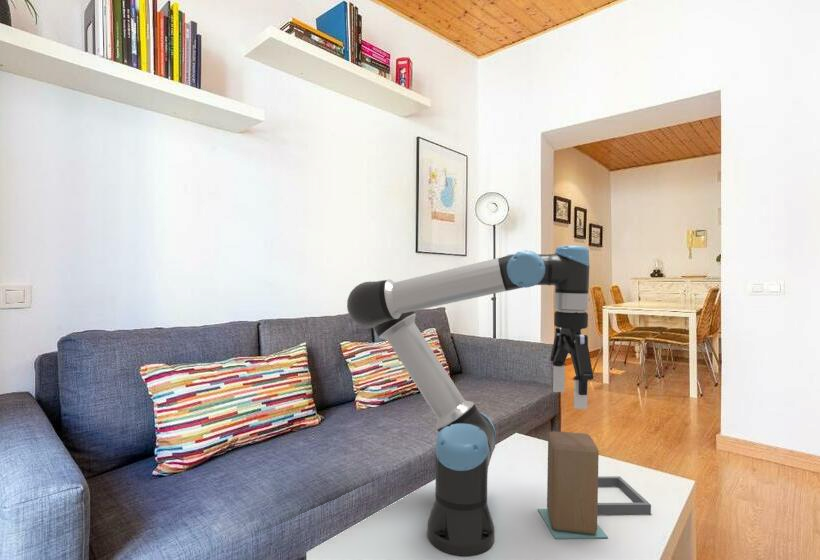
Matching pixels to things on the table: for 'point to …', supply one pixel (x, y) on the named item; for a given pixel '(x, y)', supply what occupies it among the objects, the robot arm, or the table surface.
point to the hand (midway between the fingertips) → (568, 399)
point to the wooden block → (572, 482)
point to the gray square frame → (634, 508)
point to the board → (570, 535)
